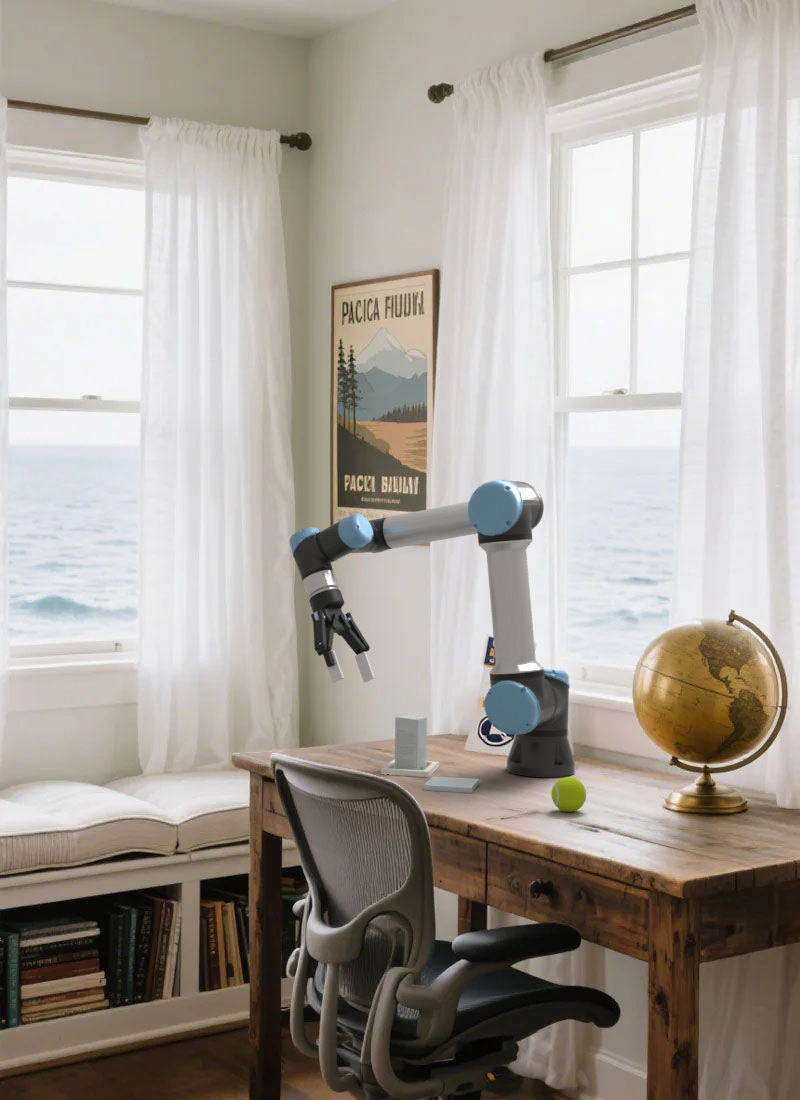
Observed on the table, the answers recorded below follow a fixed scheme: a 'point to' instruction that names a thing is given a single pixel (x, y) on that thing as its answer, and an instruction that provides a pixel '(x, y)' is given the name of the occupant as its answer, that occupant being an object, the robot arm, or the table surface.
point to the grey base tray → (405, 772)
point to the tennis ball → (568, 794)
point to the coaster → (451, 784)
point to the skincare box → (410, 742)
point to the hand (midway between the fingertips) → (354, 680)
